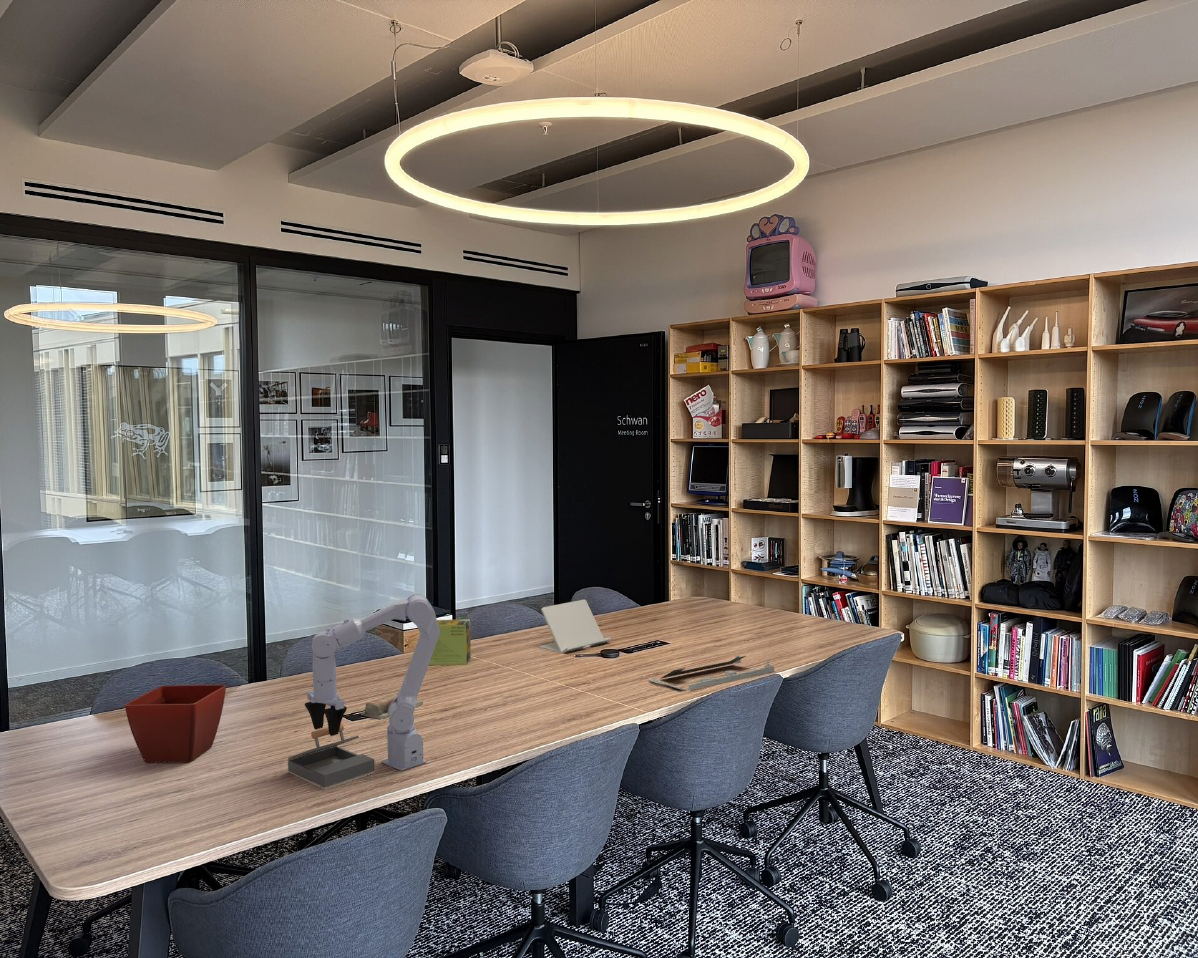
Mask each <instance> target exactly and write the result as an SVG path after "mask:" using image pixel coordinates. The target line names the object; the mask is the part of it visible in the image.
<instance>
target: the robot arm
mask: <svg viewBox="0 0 1198 958" xmlns="http://www.w3.org/2000/svg"><path fill="white" fill-rule="evenodd" d="M436 615H437V614H436V612H435V609H434V608H433V606H432V604H431V602H430V601H429V600H428V598H427V597H426V596H425V595H423V594H420V593H414V594H411V595H409V597H403V598H401V599H398V600H396V601H394V602H392V603H390V604H388V605H387V606H384V607H382V608H380V609H378V610H376V611H375V612H373V613H371V614H369V615H367V616H365V617H364V618H362V619H357V618H355V617H352V618H351V619H349V617H346V618H344V619H343V622H342V623H340V624H338V625H335V626H334V627H330V626H328V627H326V629H325V630H326V631H325V630H324V631H319V632H317V633H315V635H314V637H313V638H312V641H311V651H312V653H313V654H312V689H313V690H310V691H307V692H306V693H307V696H306V697H307V700H308V702H305V703H304V706H305V708H306V709H307V712H308V714H309V716H310V719H311V722H312V725H313V729H314V731H317V730H320V729H324V721H325V718H326V720H327V728H328V729H329V736H330V737H333V736H337V735H339V734H340V733H339V729H340V724H342V720H343V718H344V715H345V714H346V712H347V709H348V708H347V706H345V701H344V699H341V698H340V696H339V695H338V694H337V693H338V692H337V691H338V690H337V663H336V662H337V661H336V659H335V652H336V650H340V649H342V648H345V647H346V646H348V645H351V644H353V643H355V642H358V641H359V640H361V639H363V638H364V635H365V633H366V632H367V631H369V630H371V629H374V628H376V627H378V626H380V625H383V624H386V623H388V622H390V621H393V620H399V621H405V622H406V620H407V618H408V619H409V621H411V622H412V623H413V624H414V625H415V627H416V628H417V630H418V631H419V633H420V634H419V637H418V640H417V643H416V645H415V647H414V651H413V653H412V656H411V659H410V662H409V664H408V667H407V671H406V673H405V674H404V678H403V681H402V684H401V685H400V689H399V691H398V692H397V693H398V694H397V696H396V698H395V700H394V701H393V702H392V703H391V704H390V705H389V708H388V716H389V717H388V718H389V719H388V724H389V725H388V726H387V728H386V736H387V737H386V739H387V740H386V741H387V742H386V743H387V758H385V759H382V760H380V763H381V764H384V765H386V766H389V767H391V768H394V769H396V770H398V771H406V770H408V769H411V768H414V767H417V766H420V765H422V764H425V763H427V760H426V759H424V741H423V740H424V739H423V737H422V736H421V734H419V733H418V732H417V730H416V724H415V715H414V712H415V709H416V708H415V706H416V700H418V695H419V692H420V690H421V687H422V684H423V682H424V679H425V676H426V673H427V670H428V668H429V666H430V665H429V662H430V660H431V657H432V654H433V651H434V649H435V646H436V643H437V640H438V637H439V634H440V630H439V627H438V623H437V620H438V619H437V616H436ZM406 617H407V618H406ZM327 706H330V707H328V708H326V707H327Z"/></svg>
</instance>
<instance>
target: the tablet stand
mask: <svg viewBox="0 0 1198 958" xmlns="http://www.w3.org/2000/svg"><path fill="white" fill-rule="evenodd" d="M540 611H541V614H542V615H543V617H544V619H545V622H546V624H547V626H548V629H549V631H550V633H551V635H552V637H553V639H554V641H553V642H550V643H546V644H542V645H538V648H539V649H542V650H547V651H551V652H556V653H560V654H566V653H571V652H575V651H578V650H582V649H586V648H590V647H593V646H599V645H601V644H602V645H603V644H606V643H608V642H609V641H611V640H612V638H611V636H608V637H604V635H603V634H602V631H601V629H600V627H599V625H598V622H597V621H596V619H595V616H594V614H593V612H592V610H591V608H590V607H589V604H588V601H587V599H580V600H575V601H568V602H564V603H560V604H554V605H548V606H544V607H542V608H540Z"/></svg>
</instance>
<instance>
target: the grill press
mask: <svg viewBox="0 0 1198 958" xmlns="http://www.w3.org/2000/svg"><path fill="white" fill-rule="evenodd" d="M344 729H345V726H344V725H343V723H341V724H340V729H339V733H338V734H339V739H340V740H339V741H335V742H333V743H329V744H326V745H325V744H324V745H321V744H320V741H319V738H322V737H325V736H330V734H329V729H328V727H325V728H324V727H323V728H320V729H317V730H314V731H311V734H310V735H311V738H312V740H314V743H315V747H314V748H311V749H309V750H305V751H303V752H300V753H298V754H295V755H292V756H290V757H287V759H288V760H291V759H295V758H298V757H301V756H305V755H308V754H311V753H315V752H318V751H321V750H325V749H328V748H331V747H335V746H338V747H339V745H343V744H345V743H348V742H352V741H353V740H354V741H355V740H356V739H359V735H355V736H352V737H350V738H345V736H344V733H343V731H344ZM320 745H321V746H320ZM288 760H287V761H288Z"/></svg>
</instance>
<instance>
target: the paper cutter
mask: <svg viewBox="0 0 1198 958" xmlns="http://www.w3.org/2000/svg"><path fill="white" fill-rule="evenodd" d="M746 657H747V655H744V656H740V655H735V658H733V659H731V660H730V661H729V660H728V661H724V662H719V663H715V664H709V665H705V666H699V667H693V668H690V669H689V668H688V669H687V668H686V667H684V668H679V669H675V670H672V671H670V672H668V673H667V674H665V675H664V676H661V677H660V678H659V680H657V679H656V678H655V679H654V678H650V677H648V680H649V681H651V682H653V683H655V684H661V685H667V686H670V687H673V688H675V689H679V690H682V691H694V690H699V689H703V688H709V687H712V686H718V685H721V684H725V683H730V682H735V681H740V680H744V679H748V678H753V677H757V676H763V675H765V674H771V673H775V666H773V665H771V664H770V661H767V662H766V663H767V664H766V665H764V667H763V668H758V669H754V670H750V671H749V670H748V671H745V672H744V671H742V672H739V673H737V671H734V670H731V669H730V670H725V671H724V674H725V675H724V676H721V677H716V678H713V677H710V676H707V677H702V678H700V681H697V682H694V683H688V688H683V687H679V686H674V685H671V684H668V683H666V682H663V681H660V680H661V679H666V678H671V677H675V676H681V675H685V674H689V673H695V672H701V671H704V670H705V671H706V670H709V669H714V668H719V667H725V666H729V665H733V664H737V665H738V664H741V662H742V661H741V660H742V659H744V658H746ZM685 669H686V670H685Z"/></svg>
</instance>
